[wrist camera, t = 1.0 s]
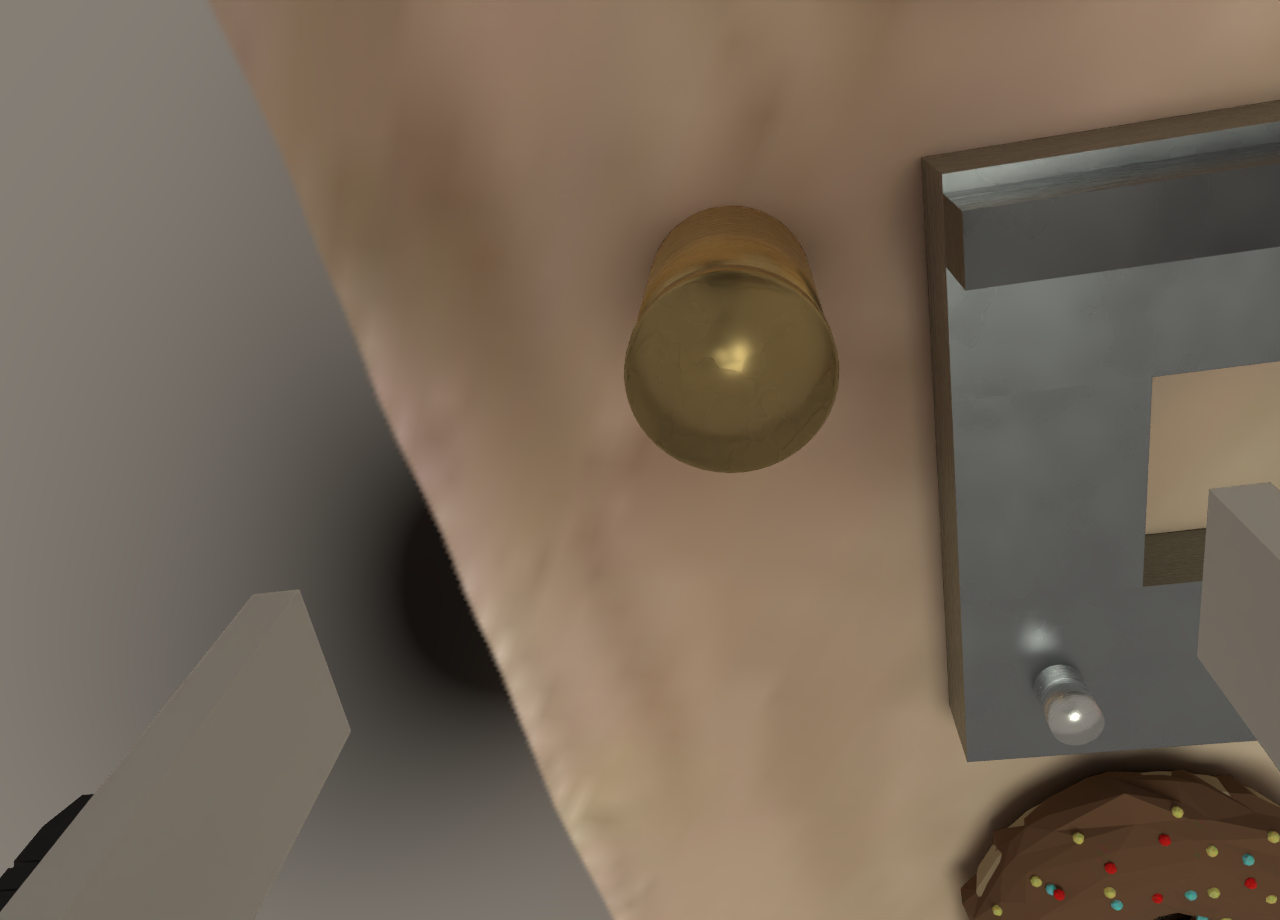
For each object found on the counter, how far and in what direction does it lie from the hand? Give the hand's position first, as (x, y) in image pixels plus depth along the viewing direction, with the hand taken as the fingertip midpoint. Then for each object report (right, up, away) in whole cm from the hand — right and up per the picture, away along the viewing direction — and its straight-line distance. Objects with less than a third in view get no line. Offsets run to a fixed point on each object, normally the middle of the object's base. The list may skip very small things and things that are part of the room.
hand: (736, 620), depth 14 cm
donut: (+18, -14, +25) cm, 34 cm away
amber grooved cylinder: (+1, +8, +16) cm, 18 cm away
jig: (+17, +3, +17) cm, 24 cm away
